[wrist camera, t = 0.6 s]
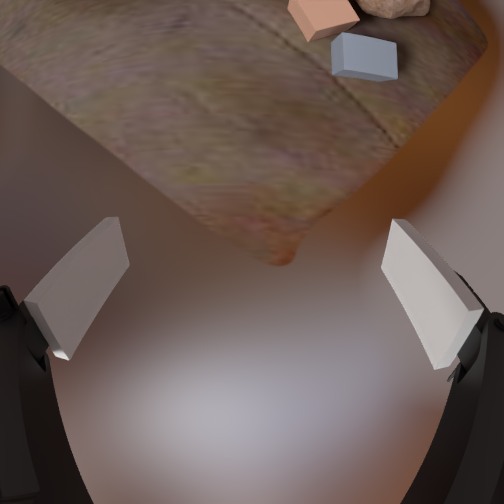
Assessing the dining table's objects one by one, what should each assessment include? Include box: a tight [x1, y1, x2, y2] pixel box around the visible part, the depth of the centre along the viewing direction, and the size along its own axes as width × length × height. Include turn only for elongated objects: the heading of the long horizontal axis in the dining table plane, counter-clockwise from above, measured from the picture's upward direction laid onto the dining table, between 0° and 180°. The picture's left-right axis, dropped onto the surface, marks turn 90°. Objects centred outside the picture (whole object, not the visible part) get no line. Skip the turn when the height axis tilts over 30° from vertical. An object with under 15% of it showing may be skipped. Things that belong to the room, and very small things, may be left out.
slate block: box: [331, 32, 398, 82], centre depth 26 cm, size 5×7×6 cm
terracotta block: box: [288, 0, 360, 42], centre depth 23 cm, size 6×6×6 cm
